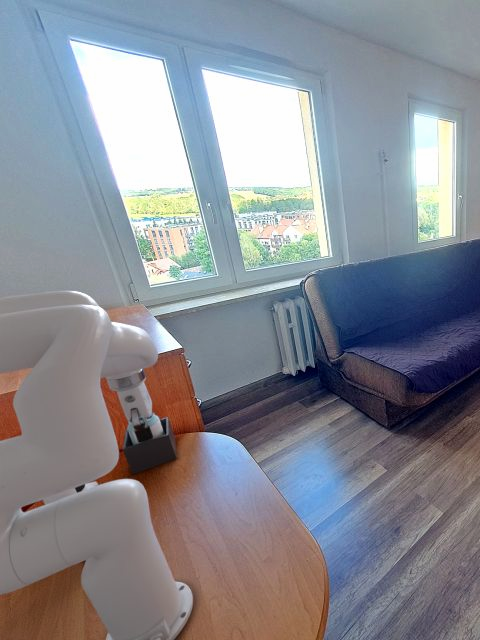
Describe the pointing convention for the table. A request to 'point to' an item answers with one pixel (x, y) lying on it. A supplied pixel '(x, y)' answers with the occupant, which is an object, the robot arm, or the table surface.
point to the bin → (150, 449)
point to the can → (154, 426)
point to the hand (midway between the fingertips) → (146, 432)
